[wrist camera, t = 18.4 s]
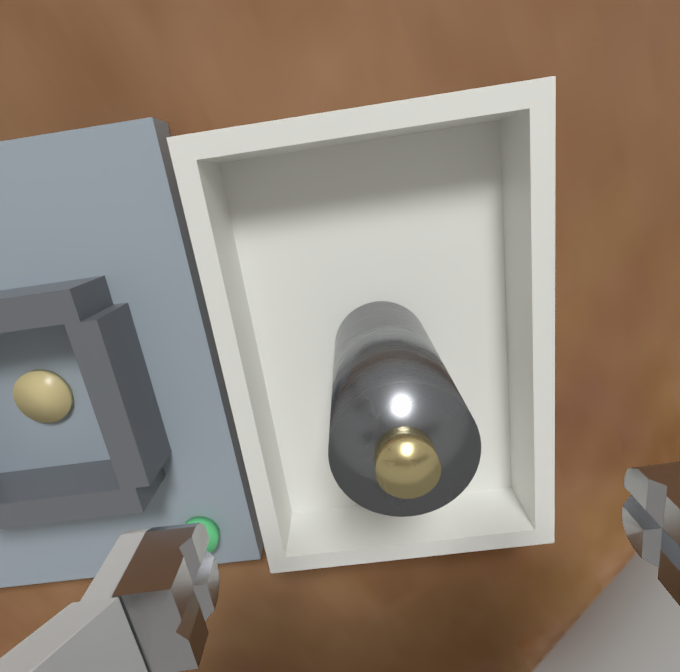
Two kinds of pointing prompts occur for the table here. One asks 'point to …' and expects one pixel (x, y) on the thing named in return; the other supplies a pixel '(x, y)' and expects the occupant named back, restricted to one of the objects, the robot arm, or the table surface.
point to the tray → (384, 285)
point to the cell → (397, 416)
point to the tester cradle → (107, 360)
